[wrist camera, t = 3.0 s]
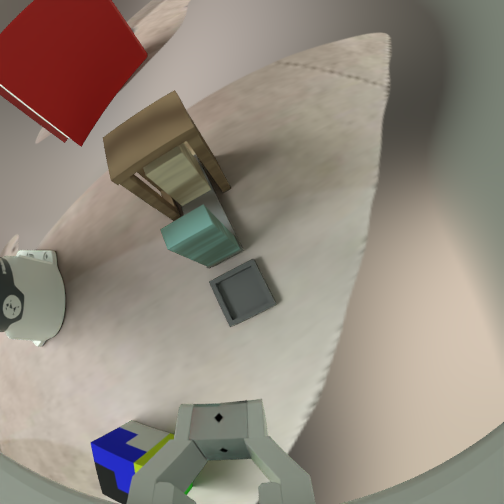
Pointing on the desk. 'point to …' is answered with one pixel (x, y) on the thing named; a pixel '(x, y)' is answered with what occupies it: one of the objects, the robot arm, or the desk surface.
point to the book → (67, 63)
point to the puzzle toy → (126, 456)
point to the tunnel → (156, 149)
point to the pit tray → (242, 293)
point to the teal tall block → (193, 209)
